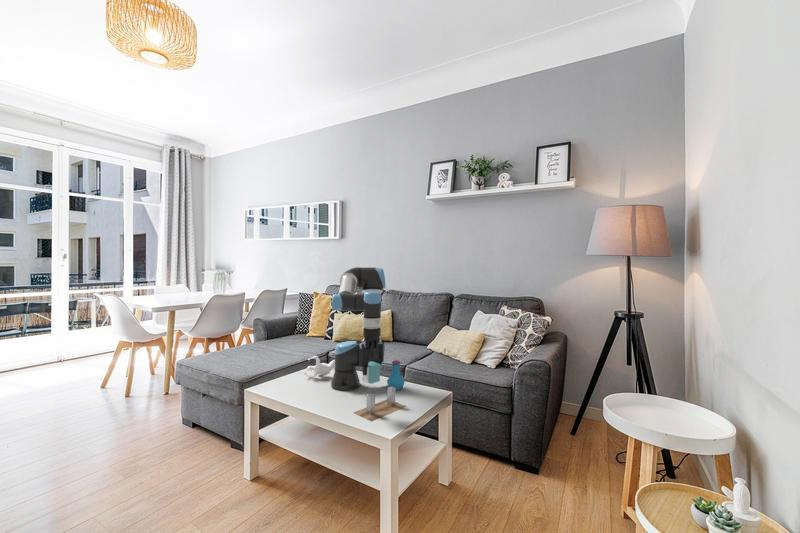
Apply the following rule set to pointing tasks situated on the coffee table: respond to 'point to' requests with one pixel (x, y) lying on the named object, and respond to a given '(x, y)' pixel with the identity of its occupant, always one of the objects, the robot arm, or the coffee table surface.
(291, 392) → the coffee table surface
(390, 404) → the post
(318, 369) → the white branched piece
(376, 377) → the teal rectangular prism
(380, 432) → the coffee table surface
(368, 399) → the post
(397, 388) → the perfume bottle
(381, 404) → the board
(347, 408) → the coffee table surface
